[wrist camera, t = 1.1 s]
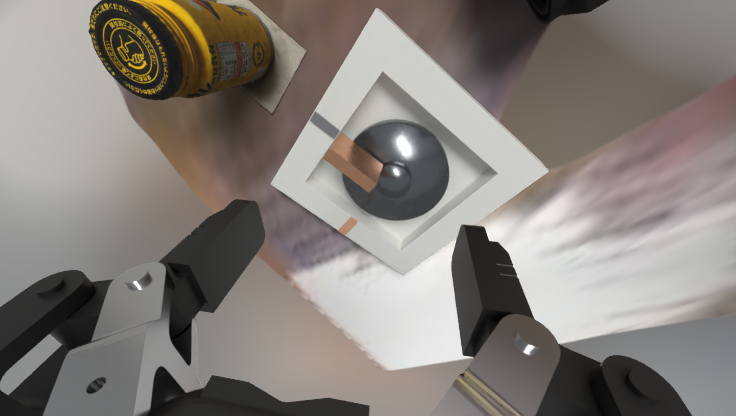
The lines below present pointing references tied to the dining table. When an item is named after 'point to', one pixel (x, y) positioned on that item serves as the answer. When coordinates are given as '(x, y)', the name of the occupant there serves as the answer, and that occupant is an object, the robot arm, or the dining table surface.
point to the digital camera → (561, 8)
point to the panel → (419, 105)
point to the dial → (392, 169)
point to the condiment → (193, 48)
